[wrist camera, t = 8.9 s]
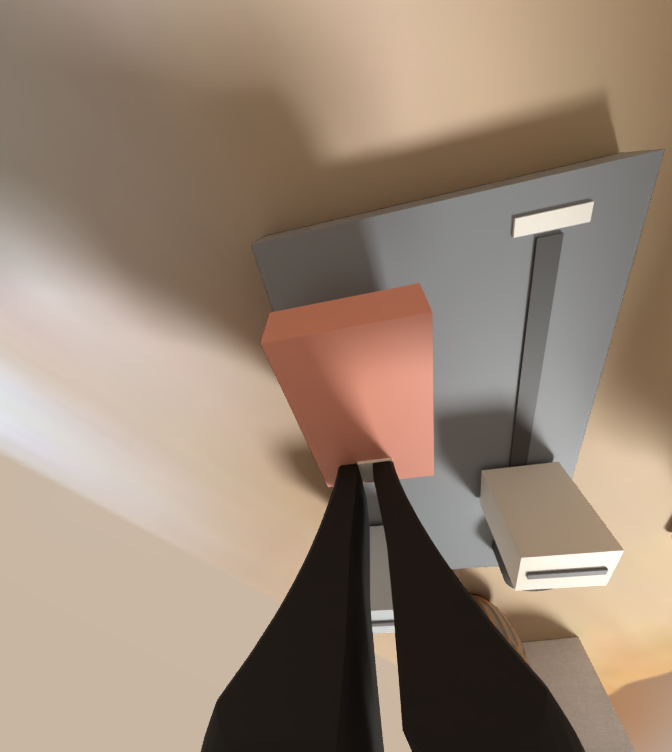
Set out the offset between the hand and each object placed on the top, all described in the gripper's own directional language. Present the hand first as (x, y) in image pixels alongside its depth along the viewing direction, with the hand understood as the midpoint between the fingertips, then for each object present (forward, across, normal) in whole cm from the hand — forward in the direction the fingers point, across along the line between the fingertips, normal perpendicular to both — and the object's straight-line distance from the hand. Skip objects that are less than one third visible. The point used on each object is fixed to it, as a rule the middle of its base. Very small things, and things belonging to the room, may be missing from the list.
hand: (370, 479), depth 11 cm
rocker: (+1, 0, -3) cm, 3 cm away
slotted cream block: (+2, -6, +4) cm, 8 cm away
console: (+4, -3, +2) cm, 5 cm away
